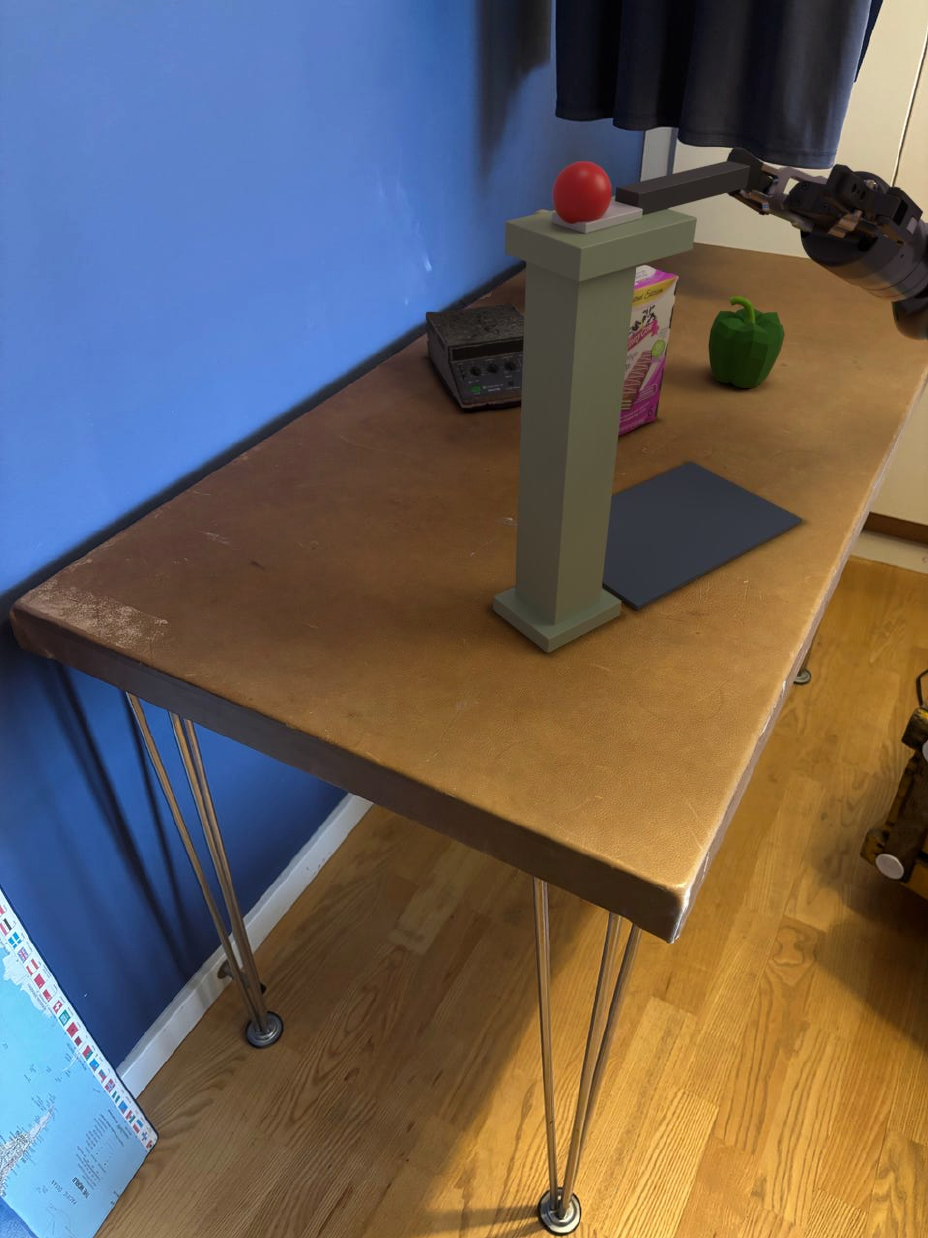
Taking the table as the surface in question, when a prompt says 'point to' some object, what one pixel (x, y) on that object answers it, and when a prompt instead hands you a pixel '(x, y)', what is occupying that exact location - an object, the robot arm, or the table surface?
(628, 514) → the mat
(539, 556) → the stand
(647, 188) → the bar with red ball
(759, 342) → the bell pepper
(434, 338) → the electronic device
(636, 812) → the table surface
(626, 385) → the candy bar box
